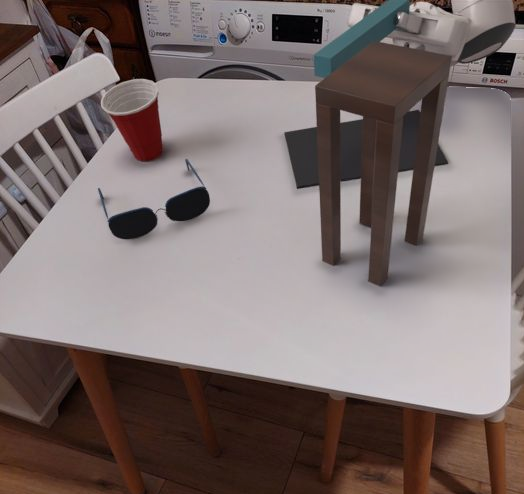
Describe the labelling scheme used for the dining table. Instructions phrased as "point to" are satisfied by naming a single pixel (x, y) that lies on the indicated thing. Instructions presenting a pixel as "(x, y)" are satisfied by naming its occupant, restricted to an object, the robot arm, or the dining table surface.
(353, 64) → the stand
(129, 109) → the plastic cup
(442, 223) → the dining table surface
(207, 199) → the sunglasses
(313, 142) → the mat
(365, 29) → the rail
